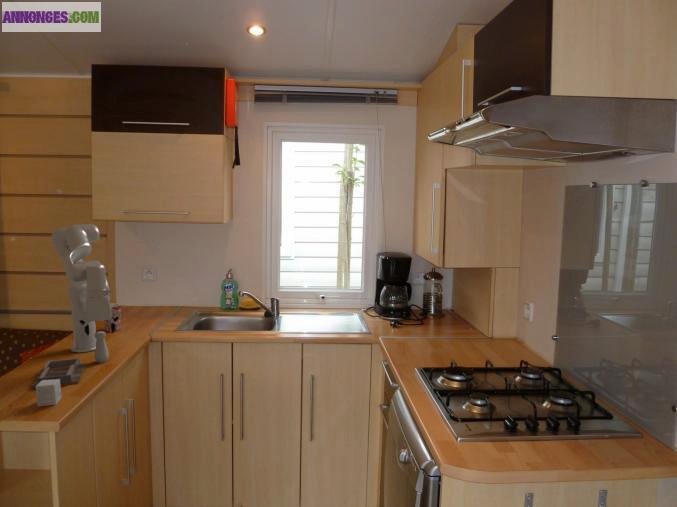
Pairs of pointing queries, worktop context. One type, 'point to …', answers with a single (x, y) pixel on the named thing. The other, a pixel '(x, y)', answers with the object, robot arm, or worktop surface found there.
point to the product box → (48, 392)
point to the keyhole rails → (57, 363)
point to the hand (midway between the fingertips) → (100, 333)
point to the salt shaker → (101, 348)
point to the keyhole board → (62, 371)
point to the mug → (118, 323)
